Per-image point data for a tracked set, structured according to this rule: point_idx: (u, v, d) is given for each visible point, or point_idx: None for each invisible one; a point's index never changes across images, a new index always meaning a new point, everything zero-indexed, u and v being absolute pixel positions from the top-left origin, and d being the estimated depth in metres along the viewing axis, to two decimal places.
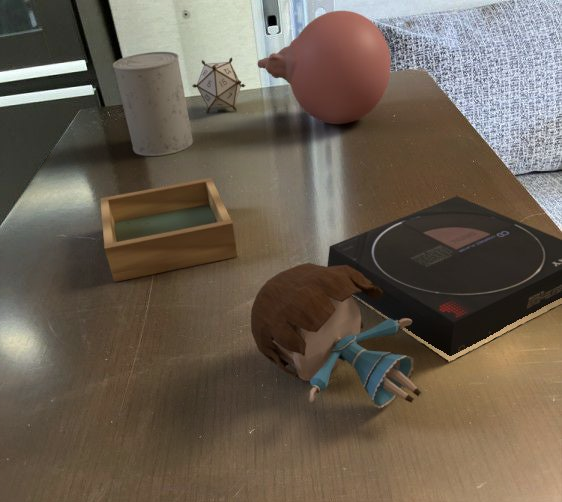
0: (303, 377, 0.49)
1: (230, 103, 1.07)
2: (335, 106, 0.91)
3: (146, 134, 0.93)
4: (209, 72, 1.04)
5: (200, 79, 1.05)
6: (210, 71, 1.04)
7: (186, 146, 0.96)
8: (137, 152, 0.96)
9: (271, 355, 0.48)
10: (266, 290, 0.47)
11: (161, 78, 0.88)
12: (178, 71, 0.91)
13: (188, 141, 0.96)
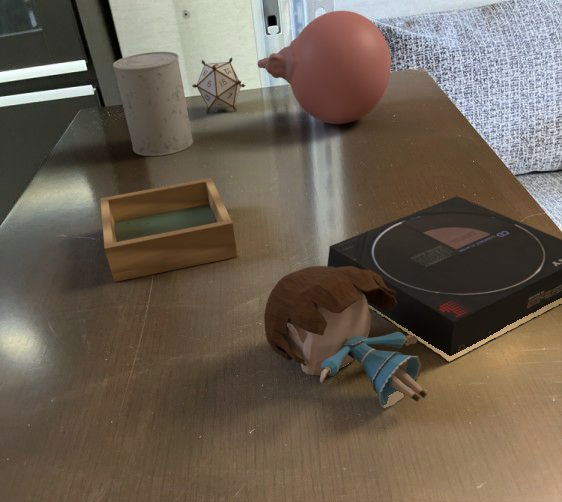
0: (308, 370, 0.49)
1: (230, 103, 1.07)
2: (334, 106, 0.91)
3: (146, 134, 0.93)
4: (209, 72, 1.04)
5: (200, 79, 1.05)
6: (210, 71, 1.04)
7: (186, 146, 0.96)
8: (137, 152, 0.96)
9: (281, 342, 0.49)
10: (290, 276, 0.48)
11: (161, 78, 0.88)
12: (178, 71, 0.91)
13: (188, 141, 0.96)
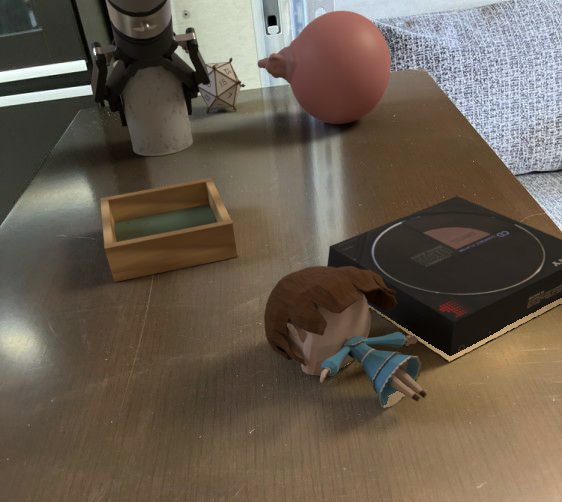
0: (308, 370, 0.49)
1: (230, 103, 1.07)
2: (334, 106, 0.91)
3: (146, 134, 0.93)
4: (209, 72, 1.04)
5: None
6: (210, 71, 1.04)
7: (186, 146, 0.96)
8: (137, 152, 0.96)
9: (281, 342, 0.49)
10: (290, 276, 0.48)
11: (161, 78, 0.88)
12: None
13: (188, 141, 0.96)
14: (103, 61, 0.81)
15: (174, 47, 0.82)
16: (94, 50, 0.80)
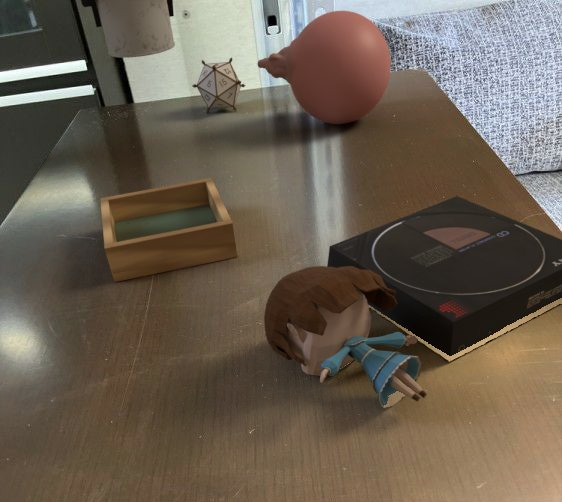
0: (308, 370, 0.49)
1: (230, 103, 1.07)
2: (334, 106, 0.91)
3: (122, 31, 0.83)
4: (209, 72, 1.04)
5: (200, 79, 1.05)
6: (210, 71, 1.04)
7: (167, 48, 0.87)
8: (112, 54, 0.86)
9: (281, 342, 0.49)
10: (290, 276, 0.48)
11: None
12: None
13: (169, 43, 0.87)
14: None
15: None
16: None
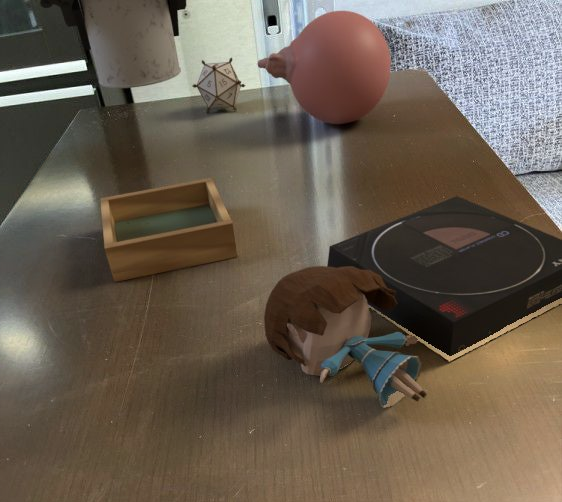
0: (308, 370, 0.49)
1: (230, 103, 1.07)
2: (334, 106, 0.91)
3: (115, 56, 0.67)
4: (209, 72, 1.04)
5: (200, 79, 1.05)
6: (210, 71, 1.04)
7: (171, 76, 0.70)
8: (104, 84, 0.70)
9: (281, 342, 0.49)
10: (290, 276, 0.48)
11: None
12: None
13: (174, 70, 0.71)
14: None
15: None
16: None
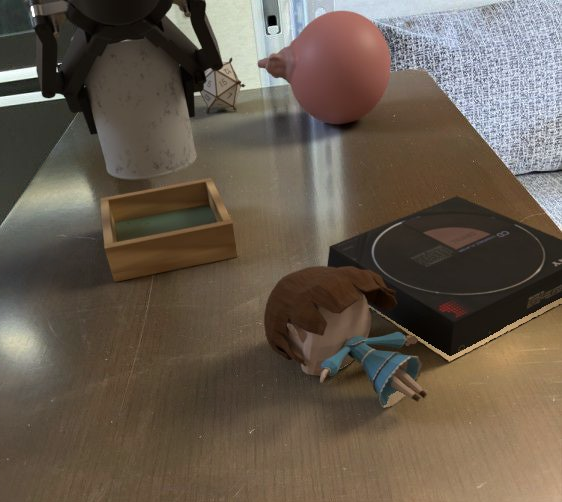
0: (308, 370, 0.49)
1: (230, 103, 1.07)
2: (334, 106, 0.91)
3: (125, 147, 0.60)
4: (209, 72, 1.04)
5: None
6: (210, 71, 1.04)
7: (186, 164, 0.64)
8: (112, 173, 0.63)
9: (281, 342, 0.49)
10: (290, 276, 0.48)
11: (147, 59, 0.56)
12: None
13: (189, 157, 0.64)
14: (48, 28, 0.49)
15: (166, 5, 0.50)
16: (32, 9, 0.48)
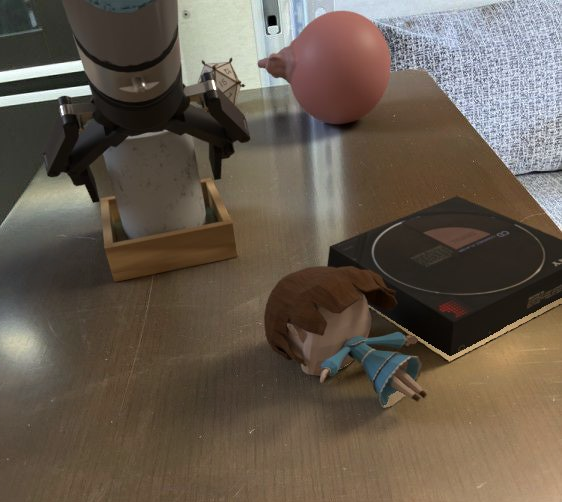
0: (308, 370, 0.49)
1: None
2: (334, 106, 0.91)
3: (144, 225, 0.66)
4: None
5: (200, 79, 1.05)
6: (210, 71, 1.04)
7: None
8: None
9: (281, 342, 0.49)
10: (290, 276, 0.48)
11: (166, 150, 0.61)
12: (190, 138, 0.64)
13: None
14: (75, 125, 0.53)
15: (184, 106, 0.54)
16: (62, 108, 0.52)
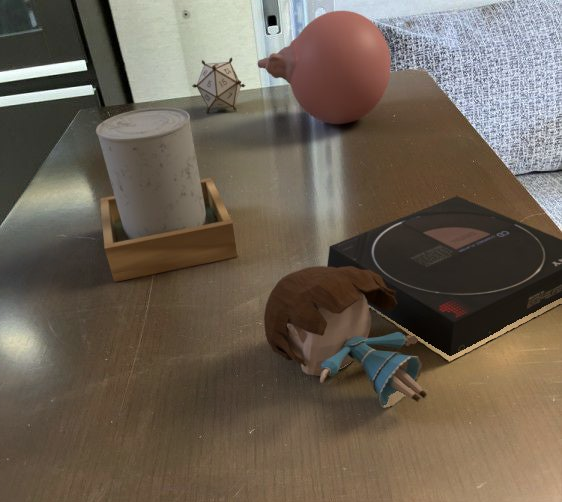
0: (308, 370, 0.49)
1: (230, 103, 1.07)
2: (334, 106, 0.91)
3: (144, 225, 0.66)
4: (209, 72, 1.04)
5: (200, 79, 1.05)
6: (210, 71, 1.04)
7: None
8: None
9: (281, 342, 0.49)
10: (290, 277, 0.48)
11: (166, 150, 0.61)
12: (190, 138, 0.64)
13: None
14: None
15: None
16: None
